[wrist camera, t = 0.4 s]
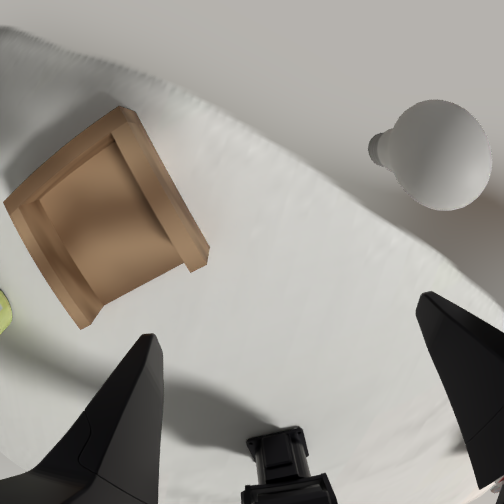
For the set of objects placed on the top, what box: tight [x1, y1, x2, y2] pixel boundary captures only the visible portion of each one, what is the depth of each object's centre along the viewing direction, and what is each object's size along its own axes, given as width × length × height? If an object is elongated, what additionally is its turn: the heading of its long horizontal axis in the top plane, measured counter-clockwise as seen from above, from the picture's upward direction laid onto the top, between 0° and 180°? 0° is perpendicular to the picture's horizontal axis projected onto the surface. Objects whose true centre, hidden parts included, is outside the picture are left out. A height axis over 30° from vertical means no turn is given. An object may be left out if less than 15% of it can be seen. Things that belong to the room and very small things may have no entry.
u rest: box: [3, 106, 210, 330], centre depth 20 cm, size 11×11×4 cm
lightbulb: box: [368, 100, 492, 210], centre depth 16 cm, size 6×6×11 cm
